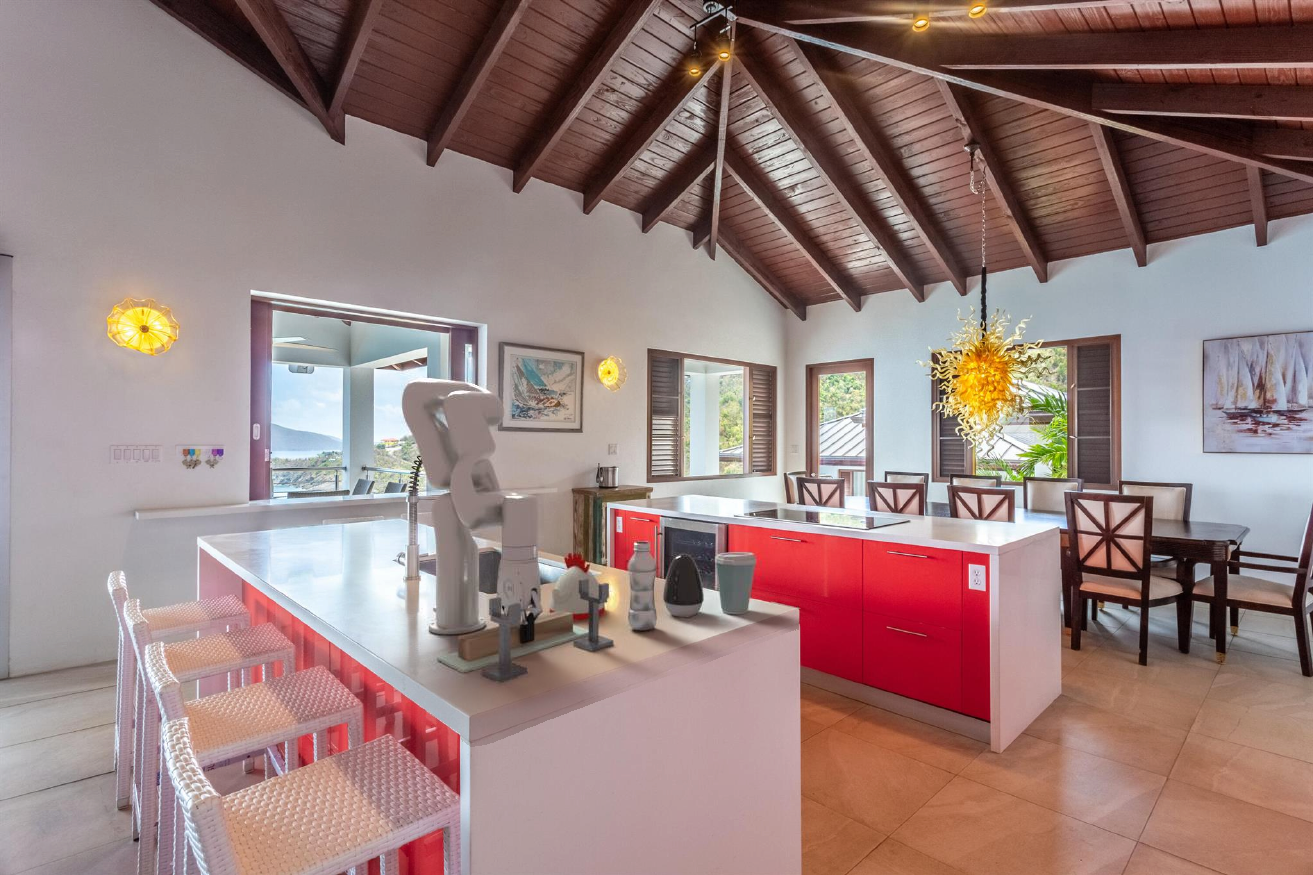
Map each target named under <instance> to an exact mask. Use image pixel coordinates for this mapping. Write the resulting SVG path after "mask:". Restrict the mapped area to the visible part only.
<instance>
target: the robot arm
mask: <svg viewBox="0 0 1313 875" xmlns="http://www.w3.org/2000/svg"><path fill="white" fill-rule="evenodd" d="M401 410H402V414H403V419H404V420H405V423H406V426H407V427H408V429H409V431H410V433H411V434H412V436H413V439H414V441H415V443H416V445H417V446H416V447H417V449H418V453H419V456H420V459H421V462H422V465H423V469H424V472H425V476H426V479H427V480H428V482H429V484H430V486H431V488H433V489H435V490H439V491H448V492H446V493H443V494H441V495H438V497H436V499H435V500H434V501H433V503H432V505H431V519H432V520H431V521H432V525H433V530H434V538H435V606H434V607H433V608H432V611H433V613H435V619H433V620H432V621H430V622H429V624H428V630H429V632H431V633H434V634H438V635H462V634H463V635H464V634H469V633H474V632H477V631H479V630H480V629H481V630H482V629H483V628H484V627H485V626H486V618H485V617H483V616H481V615H479V614H480V613H479V612H480V611H479V610H480V609H479V603H480V602H479V601H480V600H479V598H480V597H479V596H480V589H479V588H480V581H479V580H480V573H479V572H480V570H479V569H480V562H479V561H480V559H479V558H480V552H479V547H478V544H477V542H476V540H475V539H474V537H473V536H472V533H471V532H473V531H478V530H484V529H485V530H486V529H493V528H496V527H501V558H500V561H499V563H498V564H499V565H498V570H497V572H498V573H497V582H496V597H500V598H501V610H502V611H503V615H506V616H509V605H511V604H516V603H519V604H521V620H522V623H523V624H520V643H522V644H525V643H528V642H532V641H534V624H535V622H536V619H537V617H538V616H541V615H542V613H543V612H544V610H543V609H544V608H543V606H542V603H541V599H542V593H541V592H542V587H541V586H542V584H541V574H540V572H541V571H540V564H539V501H538V498H537V497H536V496H535V495H533V494H525V493H523V494H522V493H520V494H519V493H516V492H512V491H507V490H506V491H502V489H501V487H500V483H499V480H498V477H497V474H496V471H495V469H494V466H493V464H492V462H491V459H490V458H491V456H493V455H494V453H495V451H496V449H497V448H496V442H495V440H494V437H493V435H492V432H491V430H490V428H495V427H498V426H499V425H501V423H502V422H503V420H504V416H505V408H504V404H503V402H502V400H501V399H500V398H499V395H496V394H495V393H494V392H492V391H490V390H487V389H485V388H483V387H480V386H478V385H476V384H473V383H471V382H468V381H467V382H466V381H459V380H450V379H449V380H448V379H440V378H439V379H437V378H419V379H415V380H412V381H410V382H409V383H408V384H407V385H406V386H405V387H404V389H403V392H402V396H401ZM437 415H444V418H445V422H446V424H445V422H443V421H442V420H441V419H440V418H439V417H437ZM527 612H529V613H527Z"/></svg>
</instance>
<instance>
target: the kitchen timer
mask: <svg viewBox="0 0 1313 875" xmlns="http://www.w3.org/2000/svg"><path fill="white" fill-rule="evenodd" d="M563 559H564V564H565V566H566V570H565V571H564V572H563V573H562V574H561V575H560V577H558V580H557V581H556V583H555V585H554V588H553V589H552V591H551V597H550V601H549V613H553V612H556V611H560V610H563V611H567V612H570V613H573V621H585V620H589V601H587V600H583V599H580V594H579V580H580V579H585V578H587V579H589V593H592V594H595V595H599V584H601V583H600V582H598V580H597V578H596V576H595V575H594V574H593V572H591V571H590V566H591V564H590V563H589V564H586V562H587V559H586V558H582V553H579V554H577V552H576V553H573V554H572V552H570V553H568V555H567V556H565V557H564V558H563ZM605 604H606V603H603V604H599V617H601V616H603V615H604V614H605V611H606V608H605V607H606V606H605Z"/></svg>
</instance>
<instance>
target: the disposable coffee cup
mask: <svg viewBox="0 0 1313 875" xmlns="http://www.w3.org/2000/svg"><path fill="white" fill-rule="evenodd" d="M714 561H715V570H716V576H717V586H718V593H719V599H720V600H719V601H720V608H721V610H722V612H723V613H725V614H729V615H744V614H747V612H748V610H749V606H750V600H751V595H752V594H751V592H752V586H753V582H754V581H753V580H754V574H755V567H756V564H757V558H756V557H755V553H754V552H743V551H742V552H741V551H739V552H737V551H736V552H723V553H722V552H721V553H718V554H717V555H716V556H715V557H714Z"/></svg>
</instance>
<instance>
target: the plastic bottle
mask: <svg viewBox="0 0 1313 875" xmlns="http://www.w3.org/2000/svg"><path fill="white" fill-rule="evenodd" d="M633 543H634V545H633V552H634V554H633V555H632V556H631V558H629V561H628V563H627V571H628V576H629V585H630V588H629V589H630V598H629V599H630V601H629V609H628V613H627V614H628V616H627V620H628V625H629V627H630V629H632V630H636V631H650V630H652V629H654V628H655V626H656V625H657V620H658V616H657V610H656V605H655V601H656V600H655V579H656V573H657V564H656V561H655V559H654V557H653V556H652V555H651V553H650V552H651V551H652V550H651V542H649V541H645V540H644V541H635V542H633Z"/></svg>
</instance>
